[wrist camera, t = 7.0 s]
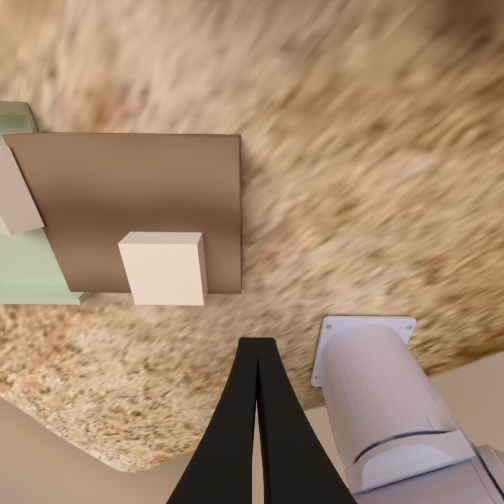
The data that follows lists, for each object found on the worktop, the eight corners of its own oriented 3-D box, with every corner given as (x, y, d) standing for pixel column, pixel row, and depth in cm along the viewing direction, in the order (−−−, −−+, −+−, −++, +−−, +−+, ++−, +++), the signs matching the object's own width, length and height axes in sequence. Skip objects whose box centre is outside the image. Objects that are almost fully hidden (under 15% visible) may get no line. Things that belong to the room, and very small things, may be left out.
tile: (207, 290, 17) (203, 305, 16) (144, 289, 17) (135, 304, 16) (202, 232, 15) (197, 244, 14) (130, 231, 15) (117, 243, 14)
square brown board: (242, 274, 19) (240, 293, 17) (90, 273, 19) (70, 292, 17) (240, 134, 15) (238, 137, 12) (38, 132, 14) (1, 135, 12)
